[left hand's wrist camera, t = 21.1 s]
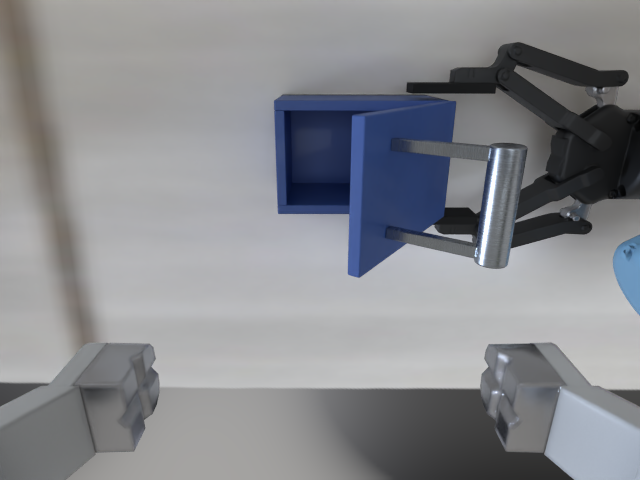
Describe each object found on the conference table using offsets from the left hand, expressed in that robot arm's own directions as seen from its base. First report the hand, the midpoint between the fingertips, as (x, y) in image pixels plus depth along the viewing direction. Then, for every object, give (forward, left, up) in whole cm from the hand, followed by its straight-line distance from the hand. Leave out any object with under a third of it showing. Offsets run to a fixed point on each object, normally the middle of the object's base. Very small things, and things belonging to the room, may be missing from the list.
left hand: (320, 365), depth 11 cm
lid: (+3, -5, -21) cm, 21 cm away
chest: (+2, -3, -35) cm, 35 cm away
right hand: (+4, -6, -29) cm, 30 cm away
